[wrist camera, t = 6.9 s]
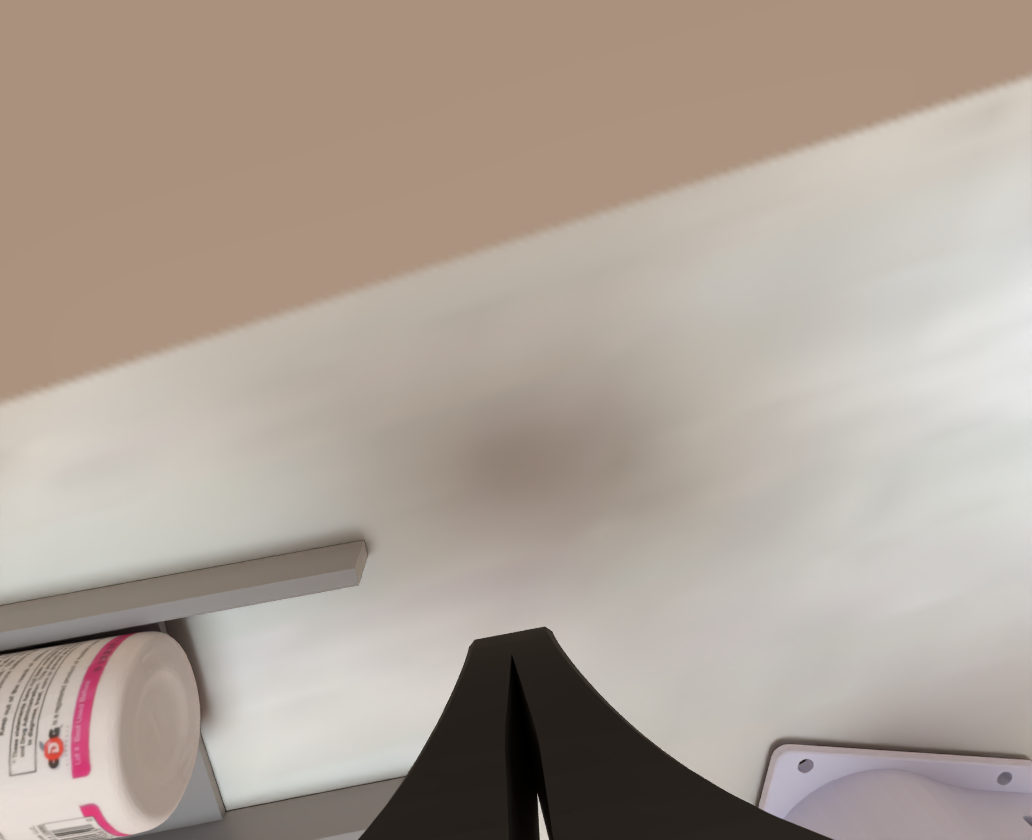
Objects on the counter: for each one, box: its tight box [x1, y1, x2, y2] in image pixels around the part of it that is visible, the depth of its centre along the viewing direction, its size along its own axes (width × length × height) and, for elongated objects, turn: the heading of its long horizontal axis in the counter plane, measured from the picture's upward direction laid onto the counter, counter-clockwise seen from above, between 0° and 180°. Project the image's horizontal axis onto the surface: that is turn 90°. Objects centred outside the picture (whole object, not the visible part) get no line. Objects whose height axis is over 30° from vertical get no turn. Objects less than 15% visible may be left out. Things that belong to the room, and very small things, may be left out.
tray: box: [0, 540, 405, 840], centre depth 20 cm, size 15×9×2 cm, turn 99°
